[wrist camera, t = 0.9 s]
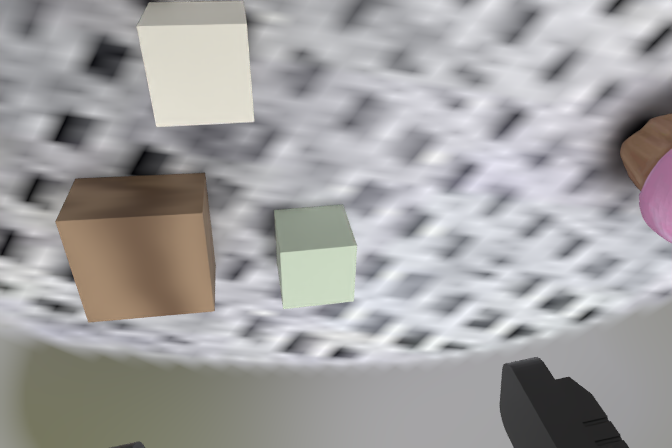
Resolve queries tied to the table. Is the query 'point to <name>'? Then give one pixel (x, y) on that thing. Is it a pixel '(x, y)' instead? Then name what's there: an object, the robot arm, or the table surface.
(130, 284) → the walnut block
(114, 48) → the table surface
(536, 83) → the table surface
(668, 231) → the cupcake
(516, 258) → the table surface
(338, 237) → the sage green cube
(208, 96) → the cream cube
